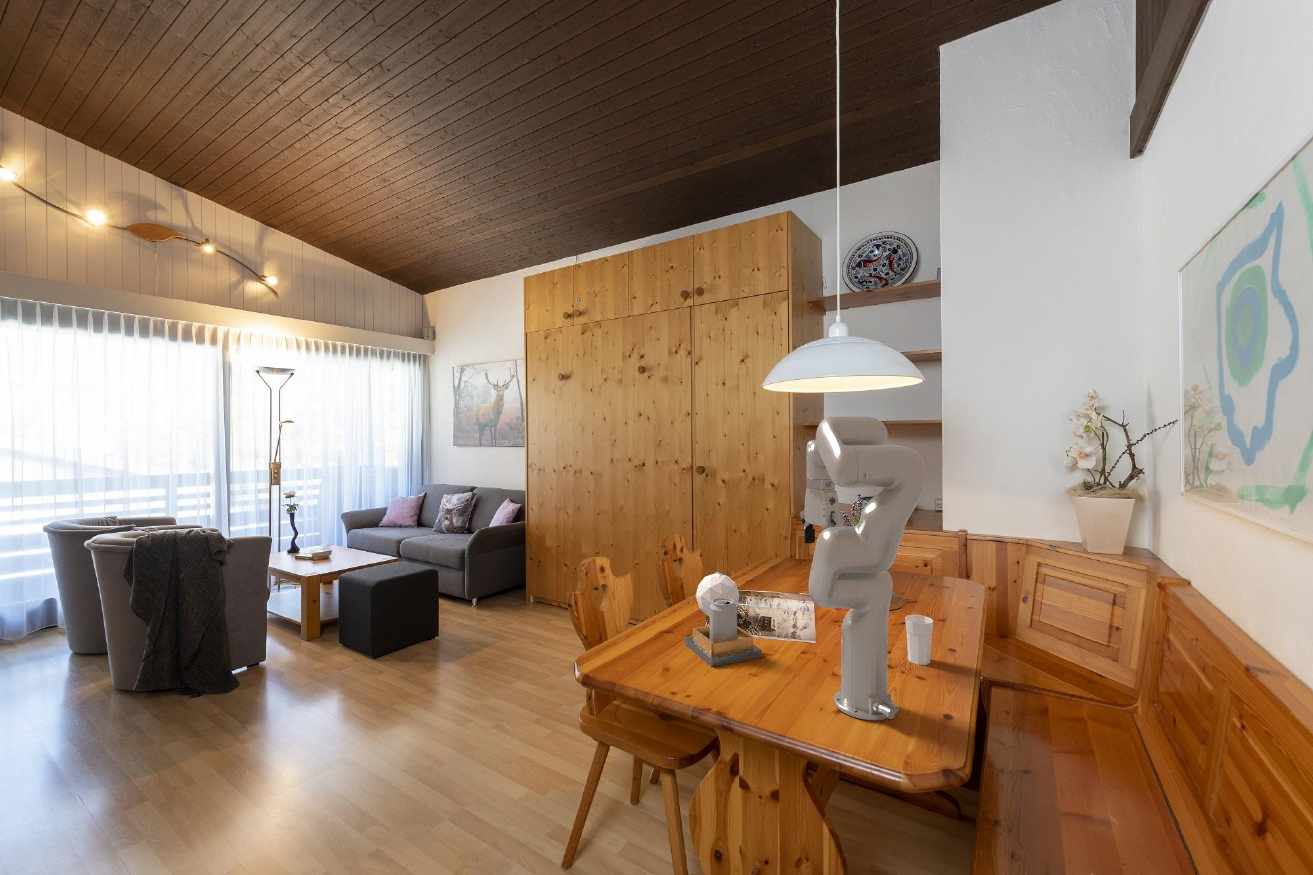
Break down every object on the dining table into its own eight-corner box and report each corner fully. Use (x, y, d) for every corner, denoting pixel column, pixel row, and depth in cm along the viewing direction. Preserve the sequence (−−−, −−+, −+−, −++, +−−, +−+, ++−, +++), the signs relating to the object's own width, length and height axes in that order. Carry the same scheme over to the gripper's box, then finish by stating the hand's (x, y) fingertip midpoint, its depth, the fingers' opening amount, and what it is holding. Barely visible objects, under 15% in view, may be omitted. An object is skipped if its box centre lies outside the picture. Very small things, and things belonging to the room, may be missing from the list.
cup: (906, 653, 153) (906, 613, 152) (933, 658, 150) (933, 617, 149) (904, 663, 147) (904, 621, 147) (932, 668, 144) (932, 625, 143)
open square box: (761, 657, 151) (761, 638, 151) (711, 666, 145) (711, 647, 145) (731, 636, 166) (731, 619, 166) (685, 644, 160) (685, 626, 160)
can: (736, 650, 151) (736, 605, 151) (708, 648, 152) (708, 604, 152) (737, 639, 158) (737, 597, 158) (711, 637, 160) (710, 595, 159)
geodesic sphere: (690, 588, 193) (694, 562, 184) (731, 587, 195) (737, 560, 186) (696, 627, 182) (701, 601, 173) (740, 625, 183) (747, 599, 174)
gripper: (853, 487, 149) (853, 551, 150) (812, 481, 165) (812, 539, 166) (830, 488, 146) (830, 554, 147) (790, 482, 162) (790, 541, 163)
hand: (820, 546), depth 156 cm, fingers open, 9 cm apart
